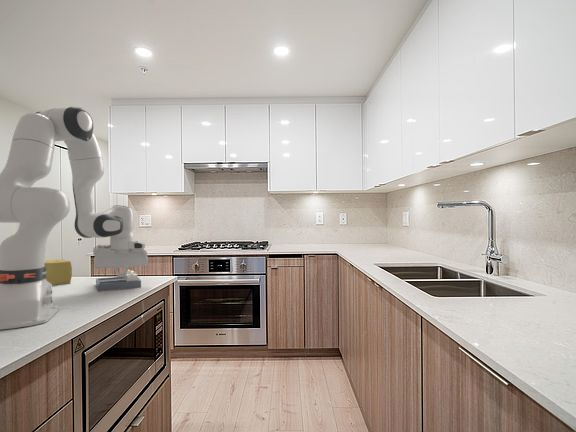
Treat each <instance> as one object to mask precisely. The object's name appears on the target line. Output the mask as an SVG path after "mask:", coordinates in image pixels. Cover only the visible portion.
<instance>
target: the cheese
mask: <svg viewBox="0 0 576 432" xmlns="http://www.w3.org/2000/svg"><path fill="white" fill-rule="evenodd" d="M44 265H45V267H46V270H47V273H46V278H45V279H46V280H47V281H48V282H49V283H50V284H52V286H59V285H64V284H65V285H66V284H71V281H72V275H73V268H72V267H73V266H72V263H71V261H70V260H66V259H63V258H62V259H60V258H58V259H57V258H56V259H49V260H45V264H44Z"/></svg>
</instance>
